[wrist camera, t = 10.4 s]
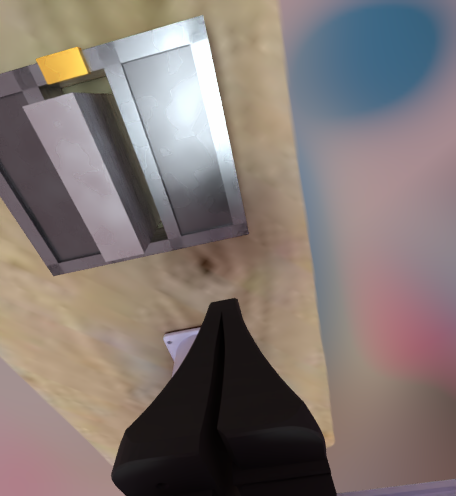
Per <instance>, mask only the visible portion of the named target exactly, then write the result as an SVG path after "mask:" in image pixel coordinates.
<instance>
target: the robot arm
mask: <svg viewBox="0 0 456 496" xmlns="http://www.w3.org/2000/svg"><path fill="white" fill-rule="evenodd" d="M163 340H164V342H165V344H166V346H167V348H168V350H169V352H170V354H171V356H172V358H173V360H174V367H173V373H172V378H171V380H170V381H169V382H168V384H167V385H166V386H165V388H164V389H163V390H162V391H161V393H160V394H159V395H158V396H157V397H156V399H155V400H154V401H153V402H152V403H151V405H150V406H149V407H148V408H147V409H146V410H145V411H144V412H143V413H142V414H141V415H140V416H139V417H138V418H137V419H136V420H135V421H134V422H133V424H132V425H131V426H130V427H129V428H127V429H126V430H125V433H124V436H123V438H122V441H121V443H120V446H119V449H118V453H117V456H116V460H115V463H114V467H113V470H112V474H111V477H112V481H113V482H114V484H115V485H116V486H117V487H118V488H119V489H120V490H121V491H122V492H123V493H124V494H125V495H126V496H456V479H451V480H443V481H435V482H427V483H419V484H411V485H402V486H394V487H387V488H378V489H370V490H362V491H354V492H345V493H336V490H335V487H334V483H333V480H332V476H331V470H330V467H329V463H328V460H327V456H326V445H325V439H324V436H323V434H322V432H321V430H320V428H319V426H318V424H317V422H316V421H315V419H314V417H313V416H312V414H311V412H310V411H309V409H308V408H307V406H306V405H305V403H304V402H303V401H302V400H301V399H300V398H299V397H298V396H297V395H296V394H295V393H294V392H293V391H292V389H291V388H290V387H289V386H288V385H287V384H286V383H285V382H284V381H283V380H282V378H281V377H280V376H279V375H278V374H277V372H276V371H275V370H274V369H273V367H272V366H271V365H270V364H269V362H268V361H267V360H266V358H265V357H264V355H263V354H262V352H261V351H260V349H259V348H258V346H257V345H256V343H255V342H254V340H253V338H252V336H251V335H250V333H249V331H248V329H247V327H246V325H245V323H244V321H243V318H242V314H241V310H240V306H239V303H238V299H236V298H233V299H228V300H222V301H217V302H212V303H211V304H210V305H209V308H208V311H207V313H206V316H205V319H204V321H203V323H202V326H201V327H199V328H194V329H189V330H183V331H178V332H173V333H168V334H165V335H164V338H163ZM170 341H171V342H170Z"/></svg>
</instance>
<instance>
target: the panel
mask: <svg viewBox="0 0 456 496" xmlns="http://www.w3.org/2000/svg"><path fill="white" fill-rule="evenodd" d="M23 109H24V111H25V113H26V115H27V116H28V118H29V120H30V122H31V124H32V126H33V128H34V129H35V131H36V133H37V135H38V137H39V139H40V141H41V143H42V144H43V146H44V148H45V150H46V152H47V154H48V156H49V157H50V159H51V161H52V163H53V165H54V167H55V169H56V170H57V172H58V174H59V176H60V178H61V180H62V182H63V183H64V185H65V187H66V189H67V191H68V193H69V195H70V196H71V198H72V200H73V202H74V204H75V206H76V208H77V209H78V211H79V213H80V215H81V217H82V219H83V221H84V222H85V224H86V226H87V228H88V230H89V232H90V234H91V235H92V237H93V239H94V241H95V243H96V245H97V247H98V249H99V250H100V252H101V254H102V256H103V258H104V260H105V262H109V261H113V260H118V259H122V258H127V257H131V256H136V255H141V254H144V253H145V251H146V249H147V247H148V245H149V243H150V241H151V239H152V237H153V235H154V233H155V231H156V229H157V227H158V225H159V223H160V221H161V218H160V216H159V213H158V210H157V208H156V205H155V202H154V200H153V197H152V195H151V192H150V189H149V187H148V184H147V181H146V179H145V176H144V173H143V171H142V168H141V165H140V163H139V160H138V158H137V155H136V152H135V150H134V147H133V144H132V142H131V139H130V136H129V134H128V131H127V128H126V126H125V123H124V121H123V118H122V115H121V113H120V110H119V107H118V105H117V102H116V99H115V97H114V95H111V94H92V93H73V92H72V93H69V94H65V95H62V96H58V97H55V98H51V99H47V100H44V101H40V102H37V103H33V104H30V105H26V106H23Z"/></svg>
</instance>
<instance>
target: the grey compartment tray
mask: <svg viewBox="0 0 456 496" xmlns="http://www.w3.org/2000/svg"><path fill="white" fill-rule="evenodd" d="M36 61H37V63H36V64H33V65H29V66H26V67H22V68H19V69H16V70H12V71H9V72H5V73H2V74H0V197H1V198H2V200H3V201H4V203H5V204H6V206H7V207H8V209H9V210H10V212H11V213H12V215H13V216H14V218H15V219H16V221H17V222H18V224H19V225H20V227H21V228H22V230H23V231H24V233H25V234H26V236H27V237H28V239H29V240H30V242H31V243H32V245H33V246H34V248H35V249H36V251H37V252H38V254H39V255H40V257H41V258H42V260H43V261H44V263H45V264H46V266H47V267H48V269H49V270H50V272H51V273H52V275H53V276H56V275H61V274H65V273H70V272H75V271H79V270H84V269H89V268H93V267H98V266H103V265H107V264H112V263H117V262H121V261H126V260H131V259H135V258H140V257H144V256H149V255H154V254H158V253H163V252H168V251H172V250H177V249H182V248H186V247H191V246H196V245H200V244H205V243H209V242H214V241H219V240H223V239H228V238H233V237H237V236H242V235H247V234H249V232H248V227H247V222H246V217H245V213H244V208H243V203H242V198H241V194H240V189H239V184H238V179H237V174H236V170H235V165H234V160H233V155H232V151H231V146H230V141H229V136H228V132H227V127H226V122H225V117H224V113H223V108H222V103H221V98H220V94H219V89H218V84H217V79H216V75H215V70H214V65H213V60H212V56H211V51H210V46H209V41H208V37H207V32H206V27H205V22H204V18H203V15H202V16H198V17H195V18H192V19H188V20H185V21H181V22H178V23H174V24H171V25H167V26H164V27H160V28H157V29H154V30H150V31H147V32H143V33H140V34H136V35H133V36H129V37H126V38H123V39H119V40H116V41H112V42H109V43H105V44H102V45H98V46H95V47H91V48H88V49H85V50H81V48H79V47H75V48H71V49H68V50H65V51H61V52H58V53H54V54H51V55H47V56H44V57H41V58H37V59H36ZM103 76H107V78H108V81H109V84H110V86H111V89H112V92H113V94H114V97H115V99H116V102H117V105H118V107H119V110H120V113H121V115H122V118H123V121H124V123H125V126H126V128H127V131H128V134H129V136H130V139H131V142H132V144H133V147H134V150H135V152H136V155H137V158H138V160H139V163H140V165H141V168H142V171H143V173H144V176H145V179H146V181H147V184H148V187H149V189H150V192H151V195H152V197H153V200H154V202H155V205H156V208H157V210H158V213H159V216H160V218H161V221H162V224H163V226H164V228H160V229H156V231H155V233H154V235H153V237H152V239H151V241H150V243H149V245H148V247H147V249H146V251H145V253H144V254H141V255H136V256H131V257H127V258H122V259H118V260H113V261H109V262H105V260H104V258H103V256H102V254H101V252H100V250H99V249H98V247H97V245H96V243H95V241H94V239H93V237H92V235H91V234H90V232H89V230H88V228H87V226H86V224H85V222H84V221H83V219H82V217H81V215H80V213H79V211H78V209H77V208H76V206H75V204H74V202H73V200H72V198H71V196H70V195H69V193H68V191H67V189H66V187H65V185H64V183H63V182H62V180H61V178H60V176H59V174H58V172H57V170H56V169H55V167H54V165H53V163H52V161H51V159H50V157H49V156H48V154H47V152H46V150H45V148H44V146H43V144H42V143H41V141H40V139H39V137H38V135H37V133H36V131H35V129H34V128H33V126H32V124H31V122H30V120H29V118H28V116H27V115H26V113H25V111H24V109H23V106H26V105H30V104H33V103H37V102H40V101H44V100H47V99H51V98H55V97H58V96H62V95H64V94H63V92H62V90H61V88H64V87H67V86H71V85H75V84H78V83H82V82H85V81H89V80H93V79H96V78H100V77H103Z"/></svg>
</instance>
